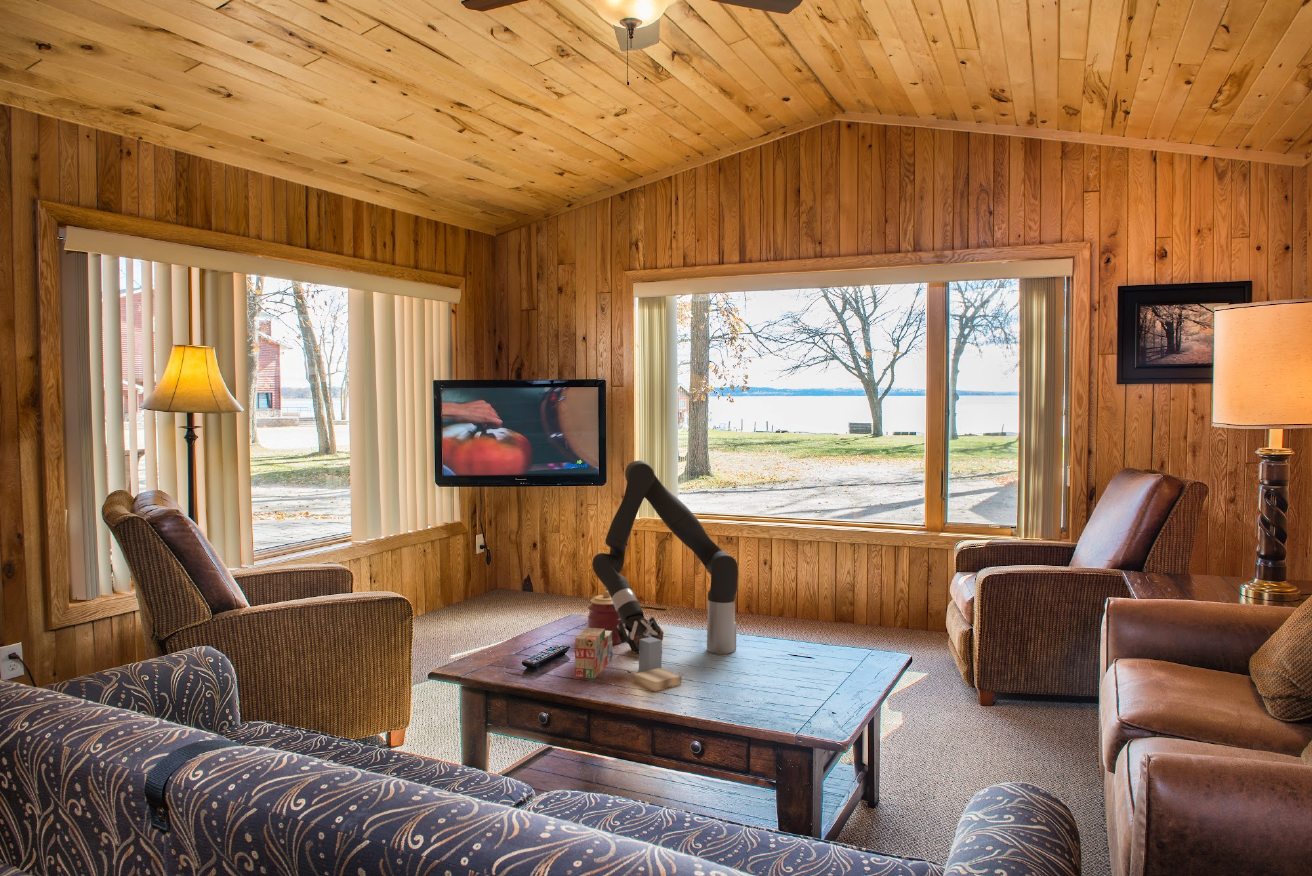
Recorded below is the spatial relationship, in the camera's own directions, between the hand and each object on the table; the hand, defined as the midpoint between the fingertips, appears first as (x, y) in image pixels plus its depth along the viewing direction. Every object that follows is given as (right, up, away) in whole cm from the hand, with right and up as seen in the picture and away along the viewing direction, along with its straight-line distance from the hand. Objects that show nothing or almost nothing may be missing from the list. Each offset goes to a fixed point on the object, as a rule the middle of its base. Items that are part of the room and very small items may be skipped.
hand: (648, 650), depth 258 cm
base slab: (+3, -7, -11) cm, 14 cm away
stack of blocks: (-17, -7, +3) cm, 18 cm away
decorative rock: (-1, -6, +22) cm, 23 cm away
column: (+1, -7, -1) cm, 7 cm away
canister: (-15, -6, +34) cm, 38 cm away
